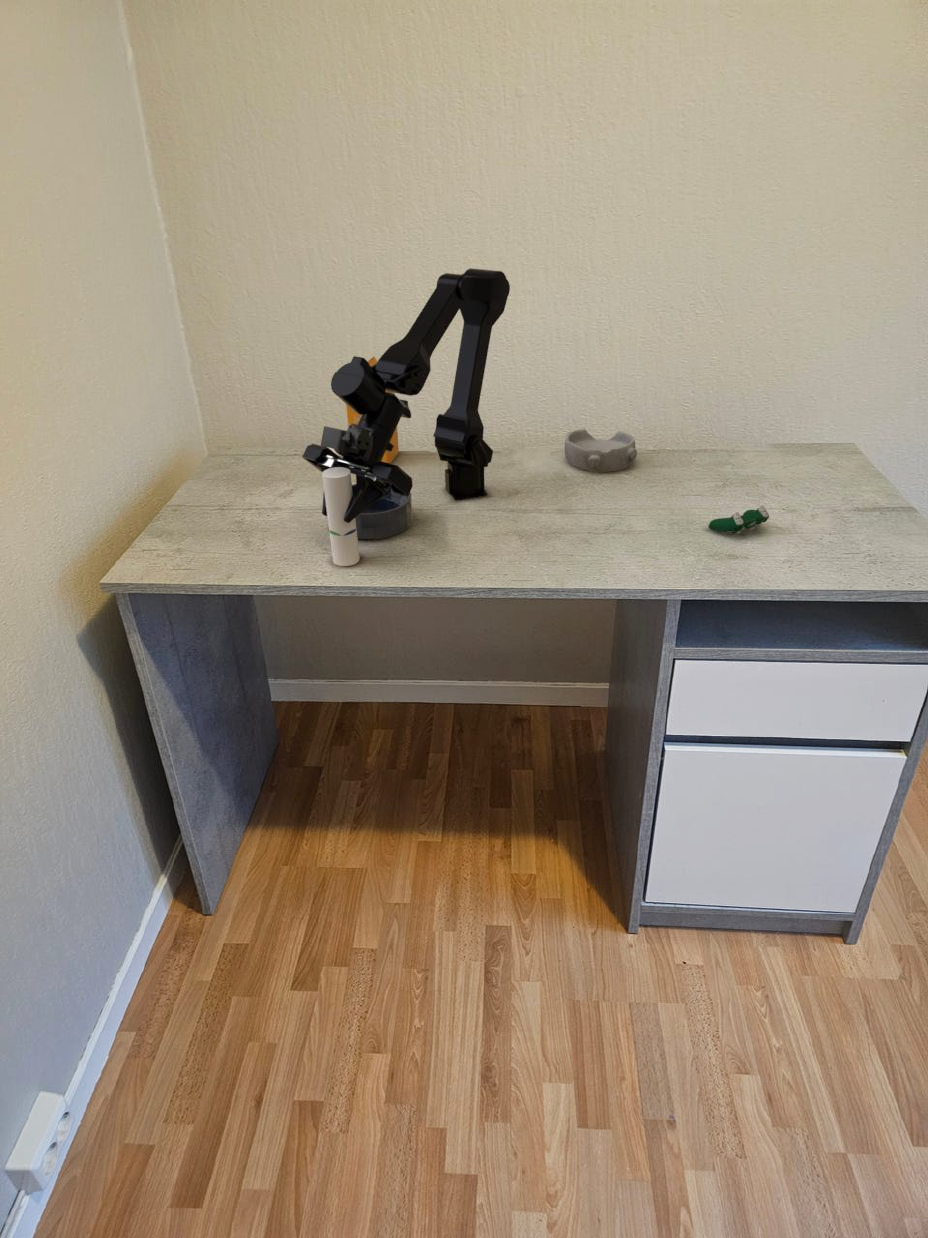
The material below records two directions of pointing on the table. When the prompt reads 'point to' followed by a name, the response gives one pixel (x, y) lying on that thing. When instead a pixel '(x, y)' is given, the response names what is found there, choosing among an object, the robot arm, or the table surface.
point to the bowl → (385, 516)
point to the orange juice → (354, 419)
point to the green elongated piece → (740, 521)
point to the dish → (599, 451)
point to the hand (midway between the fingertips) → (335, 518)
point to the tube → (340, 516)
